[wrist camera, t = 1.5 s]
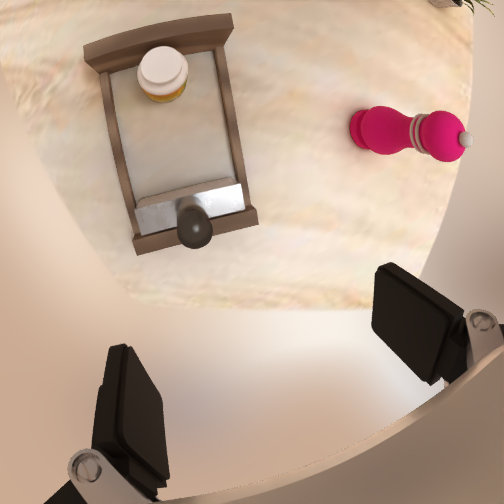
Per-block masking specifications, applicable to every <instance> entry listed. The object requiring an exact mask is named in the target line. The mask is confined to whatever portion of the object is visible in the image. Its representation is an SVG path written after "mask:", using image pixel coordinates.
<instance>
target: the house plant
mask: <svg viewBox="0 0 504 504" xmlns="http://www.w3.org/2000/svg"><path fill="white" fill-rule="evenodd" d="M429 1H430V3H431V4H432V5H434V6H435V7H461V6H462V5H463V2H462V0H429ZM464 1H466V2H468V3H470V4H471V5H472V7H473V9H474V6H473V4H472V2H471V1H470V0H464ZM481 1H483V2H486V3H489V2H487V1H484V0H481ZM476 2H478V3H480V1H479V0H476ZM464 4H465V3H464ZM480 4H481V3H480ZM489 4H491V3H489ZM466 5H467V4H466ZM481 5H483V4H481ZM492 5H493V4H492ZM467 6H468V5H467ZM483 6H484V5H483ZM468 7H469V6H468ZM484 7H486V6H484ZM469 8H470V9H471V7H469ZM486 8H487V7H486ZM487 9H488V10H489V11H490V12H491V10H490V9H489V8H487ZM471 10H472V9H471ZM472 12H473V14H474V11H473V10H472ZM491 13H492V12H491ZM492 14H493V13H492ZM493 15H494V14H493Z"/></svg>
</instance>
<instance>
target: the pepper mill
mask: <svg viewBox="0 0 504 504" xmlns="http://www.w3.org/2000/svg"><path fill="white" fill-rule="evenodd" d="M350 133H351V136H352V138H353V140H354V142H355V143H356V144H357V145H358V146H359V147H361V148H364V149H371V150H372V151H374V152H375V153H378V154H382V155H390V154H394V153H397V152H399V151H401V150H403V149H404V148H415V149H416V150H417V151H418V152H420V153H423V154H428V155H430V154H431V156H432V157H434V158H435V159H437V160H439V161H442V162H452V161H455V160H457V159H458V158H460V157H461V156H462V154H463V152H464V151H465V148H469V147H471V146H472V145H473V137H472V135H471V134H470V133H469V132H465V129H464V126H463V124H462V123H461V121H460V120H459V119H458V118H457V117H456V116H455V115H453V114H451V113H450V112H446V111H435V112H432V113H431V114H430V115H429V114H418V115H416V116H415V117H414V118H413V117H407V116H405V115H403V114H402V113H400V112H398V111H397V110H395V109H392V108H390V107H385V106H376V107H373V108H371V109H370V110H361V111H358V112H357V113H356V114H355V115H354V116H353V117H352V119H351V123H350Z"/></svg>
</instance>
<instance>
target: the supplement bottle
mask: <svg viewBox="0 0 504 504" xmlns="http://www.w3.org/2000/svg"><path fill="white" fill-rule="evenodd" d="M187 76H188V63H187V60H186V59H185V57H184V56H183V55H182V54H181V53H180V52H178V51H177V50H175V49H173V48H171V47H167V46H161V47H157V48H154V49H152V50H150V51H149V52H148V53H147V54H146V55H145V56H144V57H143V59H142V61H141V63H140V64H139V67H138V71H137V78H138V82H139V84H140V86H141V87H142V89H143V90H144V92H145V94H146V95H147V96H148V97H149V98H150V99H151V100H153V101H155V102H159V103H166V102H170V101H173V100H175V99H176V98H178V97H179V96H180V95H181V94H182V92H183V91H184V89H185V86H186V81H187Z"/></svg>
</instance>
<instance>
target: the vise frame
mask: <svg viewBox="0 0 504 504" xmlns="http://www.w3.org/2000/svg"><path fill="white" fill-rule="evenodd" d="M233 29H234V26H233V21H232V16H231V13H227V14H216V15H206V16H198V17H191V18H185V19H179V20H173V21H168V22H163V23H158V24H154V25H149V26H145V27H141V28H137V29H133V30H130V31H126V32H123V33H119V34H116V35H113V36H110V37H106V38H103V39H101V40H98V41H95V42H92V43H89V44H87V45H84V46H83V48H84V61H85V62H86V63H87V64H88V65H90V66H91V67H92V68H93V69H94V70H95V71H97V72H98V73H99V74H100V82H101V89H102V96H103V102H104V109H105V114H106V120H107V125H108V131H109V136H110V141H111V145H112V150H113V155H114V159H115V164H116V168H117V172H118V176H119V180H120V184H121V188H122V192H123V196H124V199H125V203H126V207H127V210H128V214H129V217H130V220H131V224H132V227H133V230H134V234H135V235H134V237H133V240H132V242H133V245H134V248H135V251H136V254H137V256H138V255H142V254H145V253H149V252H153V251H157V250H160V249H164V248H168V247H172V246H176V245H179V244H182V243H181V242H180V241H179V239H178V236H177V226H176V227H172V228H168V229H164V230H160V231H157V232H153V233H149V234H146V235H141V232H140V229H139V225H138V222H137V219H136V215H135V211H134V210H135V208H136V202H135V199H134V195H133V191H132V187H131V183H130V179H129V175H128V171H127V167H126V162H125V158H124V153H123V149H122V144H121V139H120V134H119V129H118V124H117V118H116V113H115V107H114V101H113V95H112V88H111V81H110V74H111V73H114V72H117V71H120V70H124V69H127V68H130V67H134V66H138V65H139V64H140V63H141V61H142V59H143V57H144V56H145V55H146V54H147V53H148V52H149V51H150V50H152V49H154V48H157V47H161V46H167V47H171V48H173V49H175V50H177V51H178V52H180V53H181V54H182V55H186V54H192V53H198V52H205V51H212V50H214V54H215V60H216V65H217V71H218V77H219V82H220V88H221V94H222V99H223V105H224V111H225V116H226V122H227V128H228V133H229V139H230V144H231V150H232V156H233V161H234V167H235V172H236V178H237V182H239V183H240V184H241V188H242V194H243V200H244V205H245V209H244V210H240V211H236V212H232V213H227V214H223V215H219V216H215V217H211V218H209V220H210V222H211V224H212V227H213V235H212V236H214V235H218V234H222V233H226V232H230V231H234V230H238V229H243V228H247V227H251V226H255V225H259V223H258V217H257V211H256V209H255V208H254V207H253V206H252V205H251V201H250V195H249V190H248V184H247V178H246V172H245V166H244V160H243V154H242V149H241V143H240V137H239V131H238V125H237V120H236V114H235V108H234V103H233V97H232V91H231V86H230V80H229V74H228V69H227V63H226V58H225V52H224V47H223V46H224V44H225V42H226V40H227V39H228V37H229V35H230V34H231V32H232V30H233Z"/></svg>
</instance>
